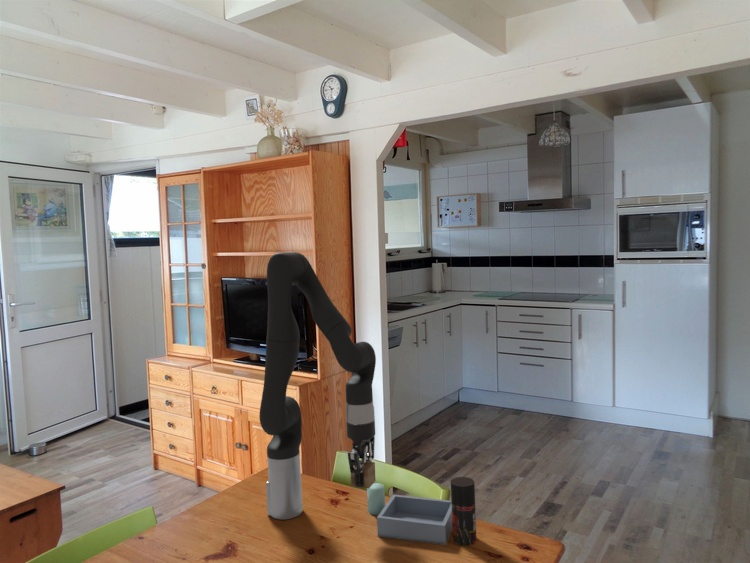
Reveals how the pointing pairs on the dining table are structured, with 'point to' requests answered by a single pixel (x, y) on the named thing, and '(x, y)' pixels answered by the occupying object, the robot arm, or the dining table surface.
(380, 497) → the teal cylinder
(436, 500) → the box
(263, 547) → the dining table surface
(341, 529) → the dining table surface
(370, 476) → the walnut cube
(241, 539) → the dining table surface
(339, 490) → the dining table surface
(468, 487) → the deodorant
